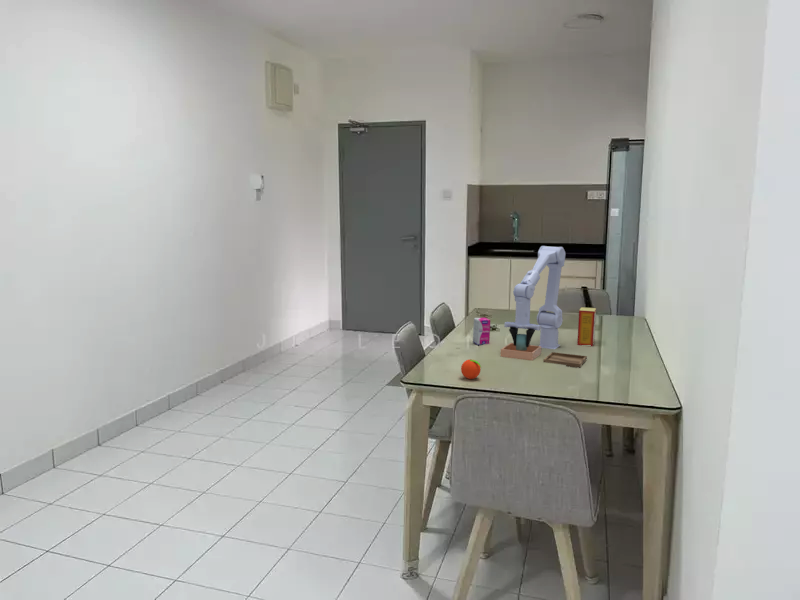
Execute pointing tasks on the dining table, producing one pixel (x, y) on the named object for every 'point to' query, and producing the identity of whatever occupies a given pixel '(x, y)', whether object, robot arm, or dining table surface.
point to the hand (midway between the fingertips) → (521, 345)
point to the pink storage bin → (521, 352)
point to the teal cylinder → (521, 342)
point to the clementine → (470, 369)
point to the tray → (565, 359)
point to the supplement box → (481, 331)
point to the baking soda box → (586, 326)
